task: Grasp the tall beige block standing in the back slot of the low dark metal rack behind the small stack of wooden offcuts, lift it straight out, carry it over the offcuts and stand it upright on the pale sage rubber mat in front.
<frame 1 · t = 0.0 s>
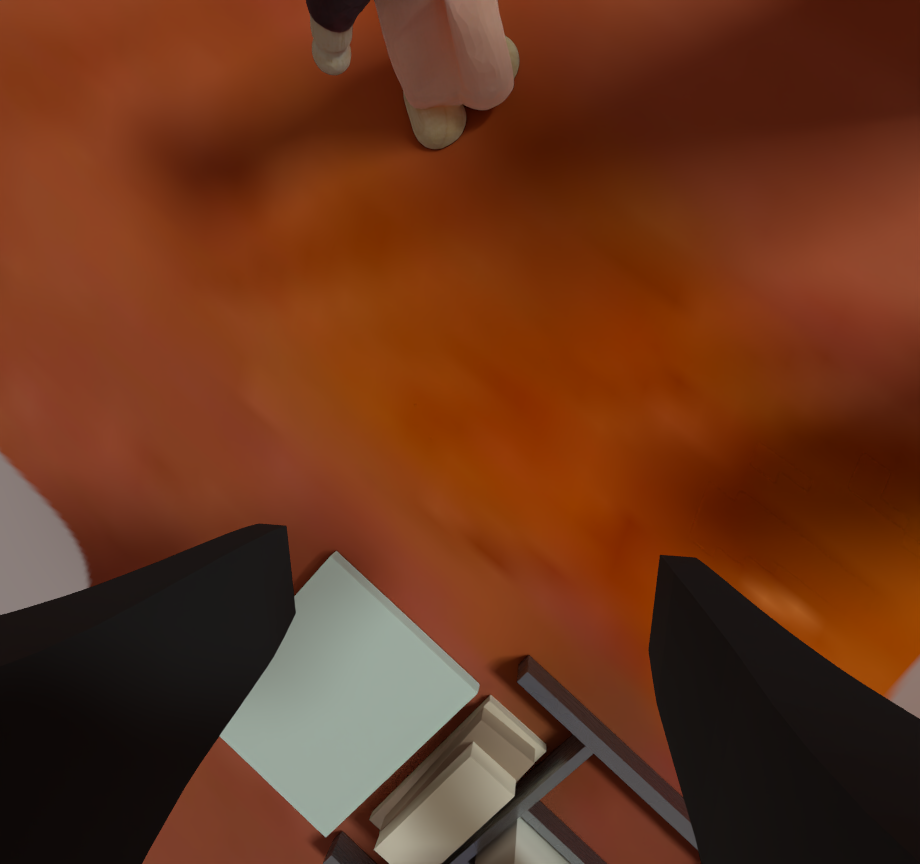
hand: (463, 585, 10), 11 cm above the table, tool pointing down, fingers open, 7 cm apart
metal rack: (527, 848, 23), on the table
sage mat: (333, 693, 23), on the table
offcut stack: (457, 772, 23), on the table
grandmother figurine: (470, 76, 19), on the table
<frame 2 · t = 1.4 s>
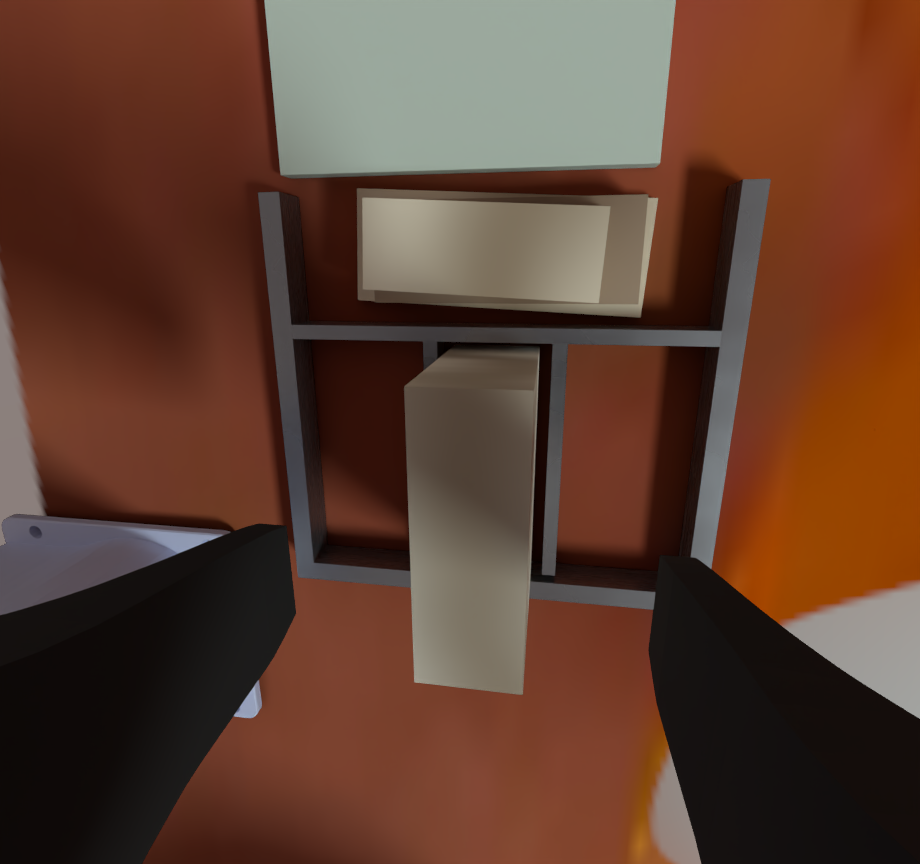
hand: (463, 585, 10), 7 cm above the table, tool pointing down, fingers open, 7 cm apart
tall beige block: (495, 456, 17), resting in metal rack
metal rack: (496, 400, 16), on the table
offcut stack: (500, 253, 15), on the table
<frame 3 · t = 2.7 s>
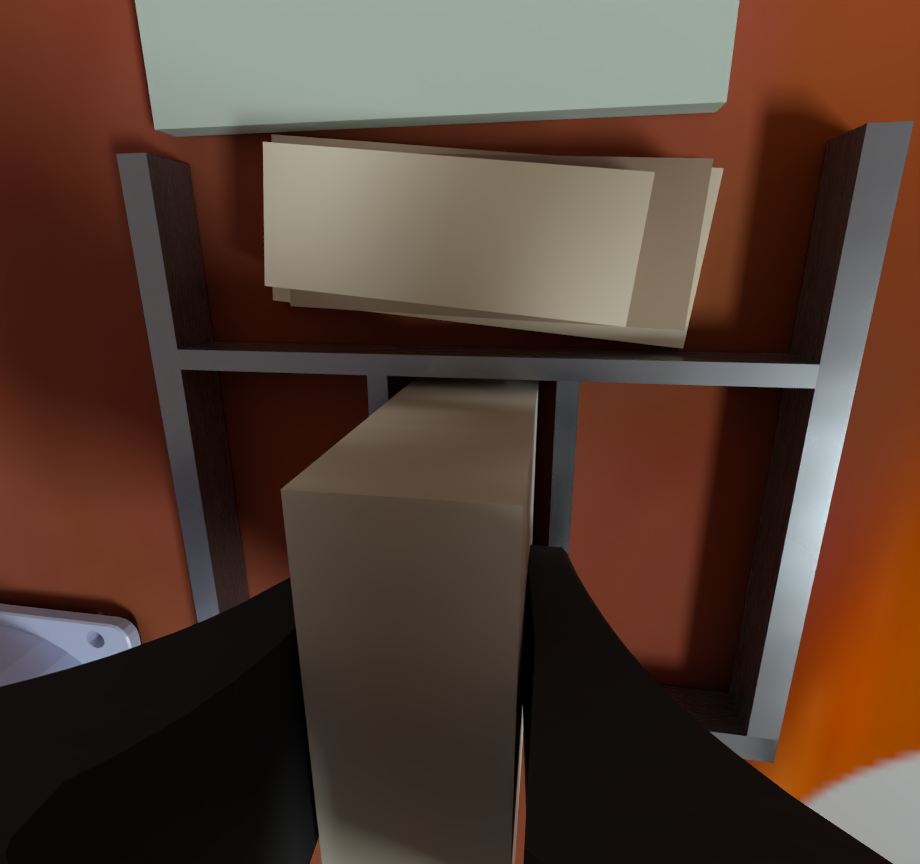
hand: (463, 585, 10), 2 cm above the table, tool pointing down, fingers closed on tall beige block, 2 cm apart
tall beige block: (476, 531, 12), resting in metal rack, touching gripper
metal rack: (476, 454, 11), on the table
offcut stack: (481, 242, 11), on the table
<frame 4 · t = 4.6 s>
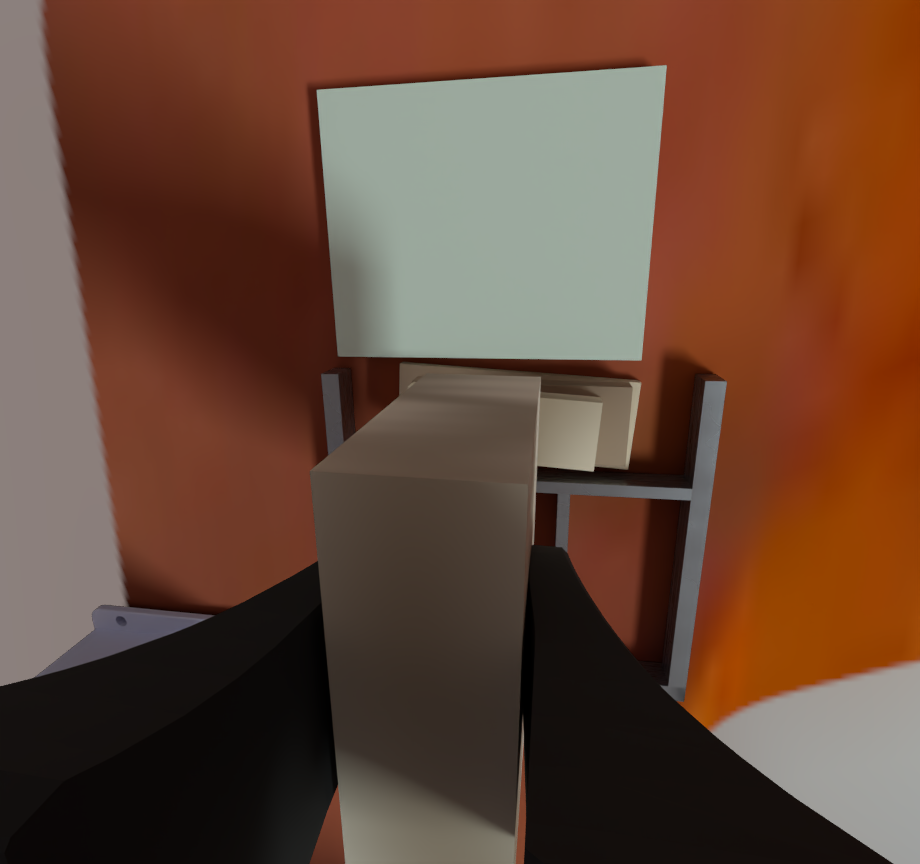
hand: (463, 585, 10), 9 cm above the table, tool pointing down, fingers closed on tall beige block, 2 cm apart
tall beige block: (481, 521, 13), point 7 cm above the table, touching gripper
metal rack: (511, 525, 20), on the table
sage mat: (485, 229, 17), on the table
offcut stack: (514, 410, 19), on the table
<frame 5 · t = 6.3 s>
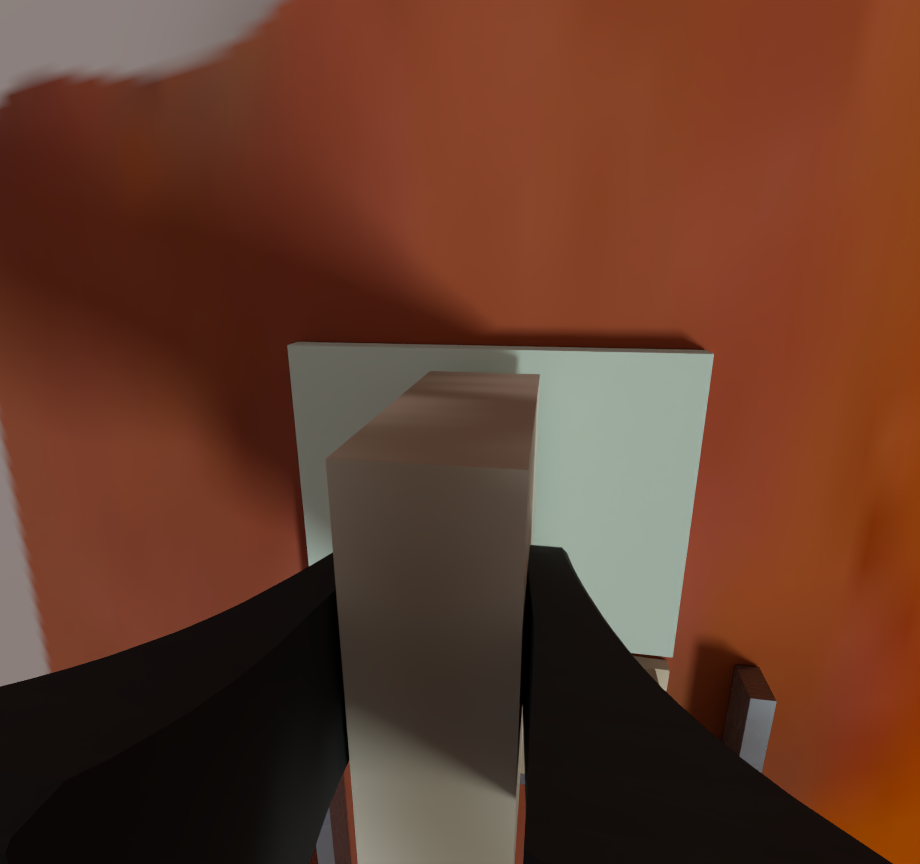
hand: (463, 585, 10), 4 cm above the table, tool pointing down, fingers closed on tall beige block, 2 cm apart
tall beige block: (482, 513, 13), point 1 cm above the table, touching gripper
metal rack: (515, 794, 17), on the table
sage mat: (488, 496, 14), on the table
offcut stack: (520, 674, 16), on the table
when the fingers open (4 cm above the table, at t = 6.8 s): tall beige block stays where it is, resting on sage mat.
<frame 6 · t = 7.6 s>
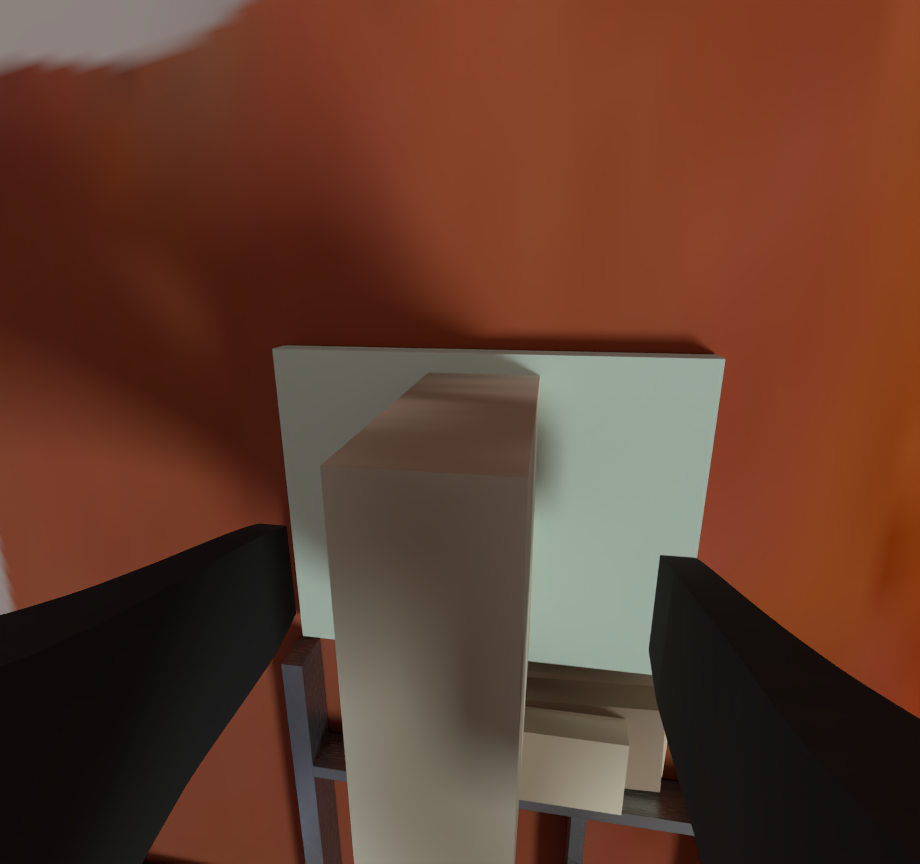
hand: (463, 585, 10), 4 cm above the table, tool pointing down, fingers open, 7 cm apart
tall beige block: (482, 516, 13), point 1 cm above the table, touching sage mat
metal rack: (514, 816, 16), on the table
sage mat: (485, 507, 14), on the table
offcut stack: (518, 692, 16), on the table
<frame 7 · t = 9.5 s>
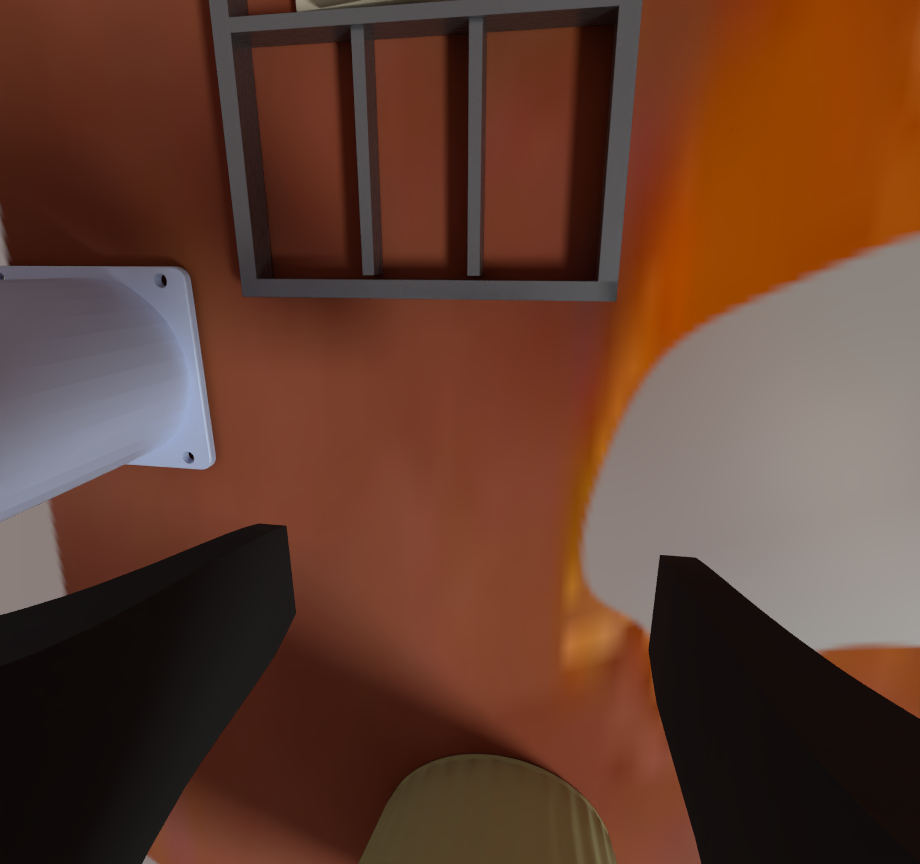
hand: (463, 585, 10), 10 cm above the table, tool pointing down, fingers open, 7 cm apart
potted cactus: (495, 837, 27), on the table
metal rack: (424, 105, 17), on the table
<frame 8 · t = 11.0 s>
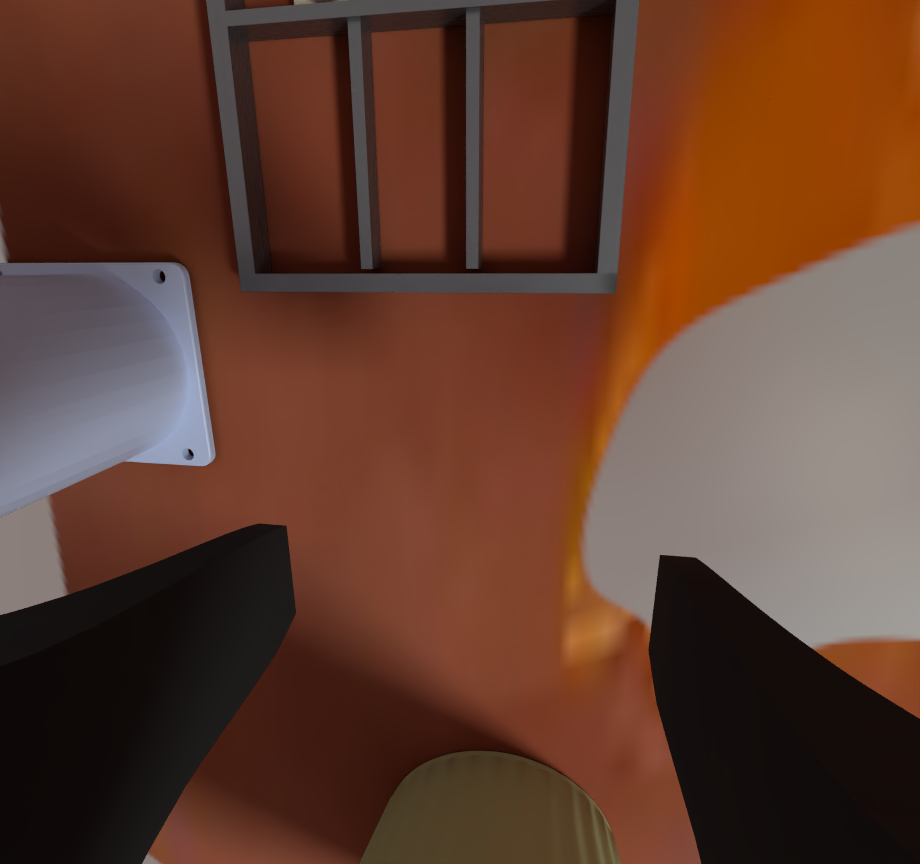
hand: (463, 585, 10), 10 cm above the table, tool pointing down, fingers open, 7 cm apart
potted cactus: (498, 834, 27), on the table
metal rack: (421, 98, 17), on the table
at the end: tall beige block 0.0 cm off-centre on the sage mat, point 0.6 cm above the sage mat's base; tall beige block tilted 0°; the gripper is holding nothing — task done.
